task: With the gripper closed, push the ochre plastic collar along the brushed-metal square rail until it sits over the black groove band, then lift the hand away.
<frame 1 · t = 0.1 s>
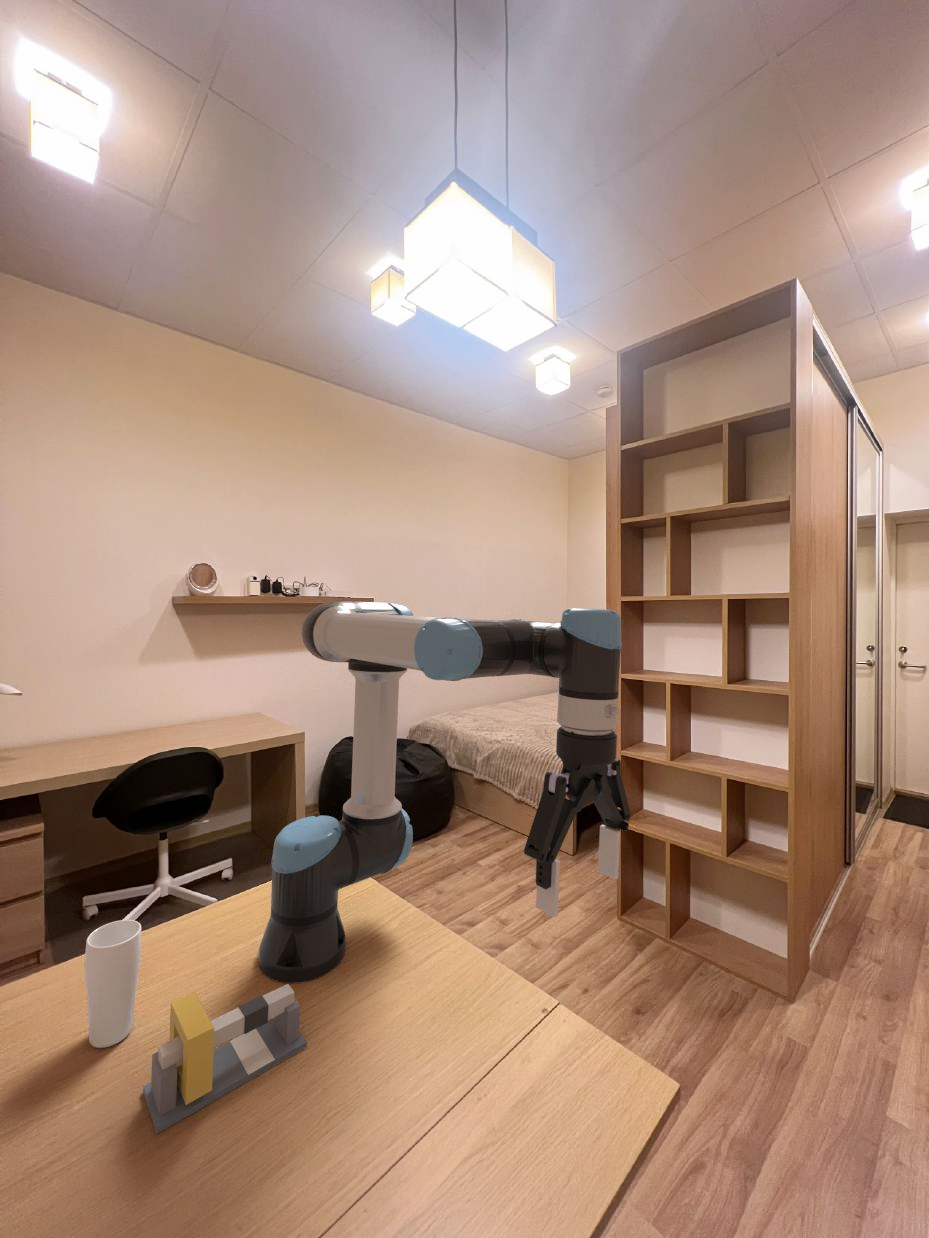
hand: (579, 892, 66), 28 cm above the table, fingers open, 13 cm apart
white cup: (111, 1036, 75), on the table
rail: (229, 1068, 70), on the table
collar: (190, 1044, 67), point 6 cm above the table, slide at 0.0 cm
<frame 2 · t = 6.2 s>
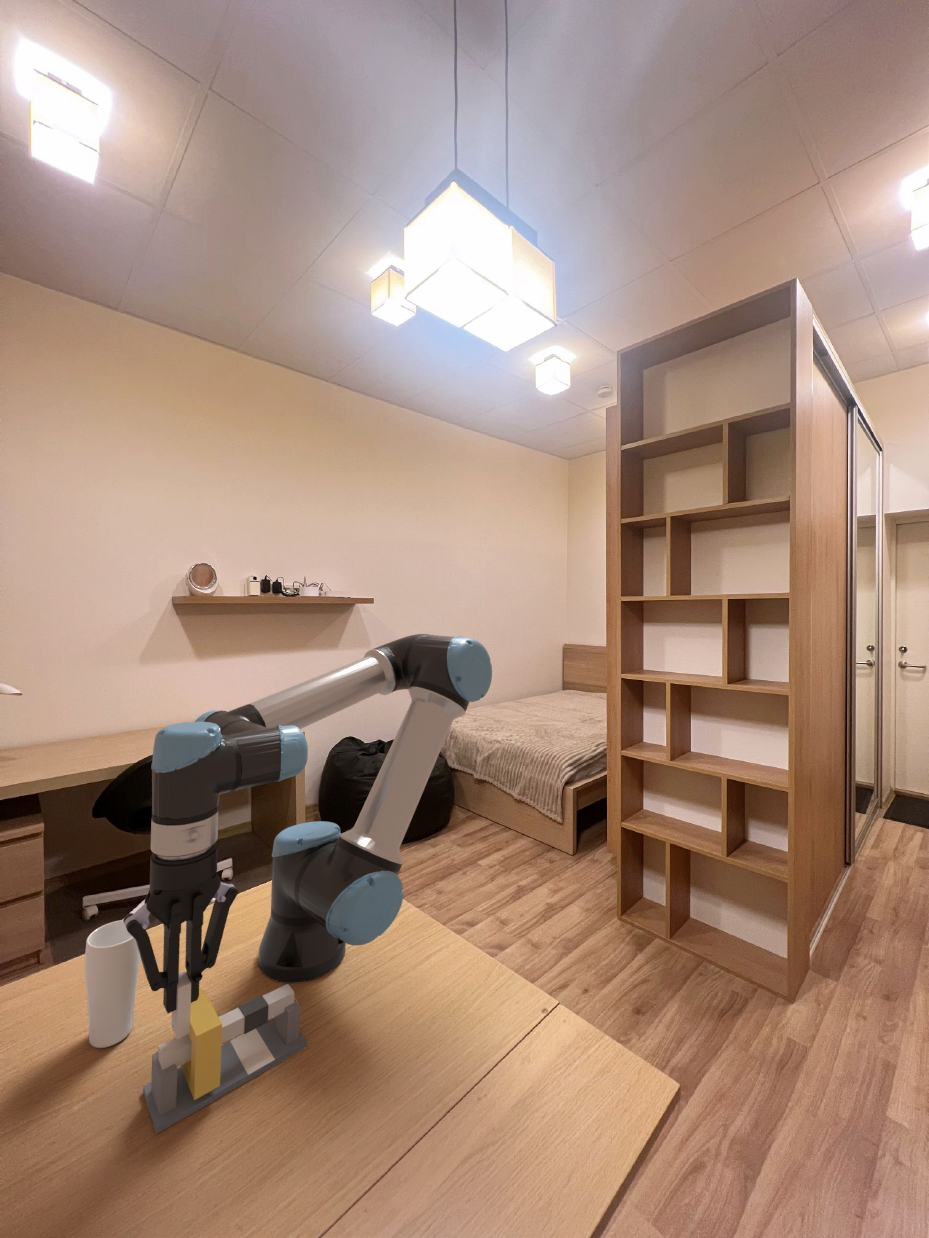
hand: (180, 1029, 66), 9 cm above the table, fingers closed
collar: (198, 1040, 67), point 6 cm above the table, slide at 1.0 cm, touching gripper
everything else where it was.
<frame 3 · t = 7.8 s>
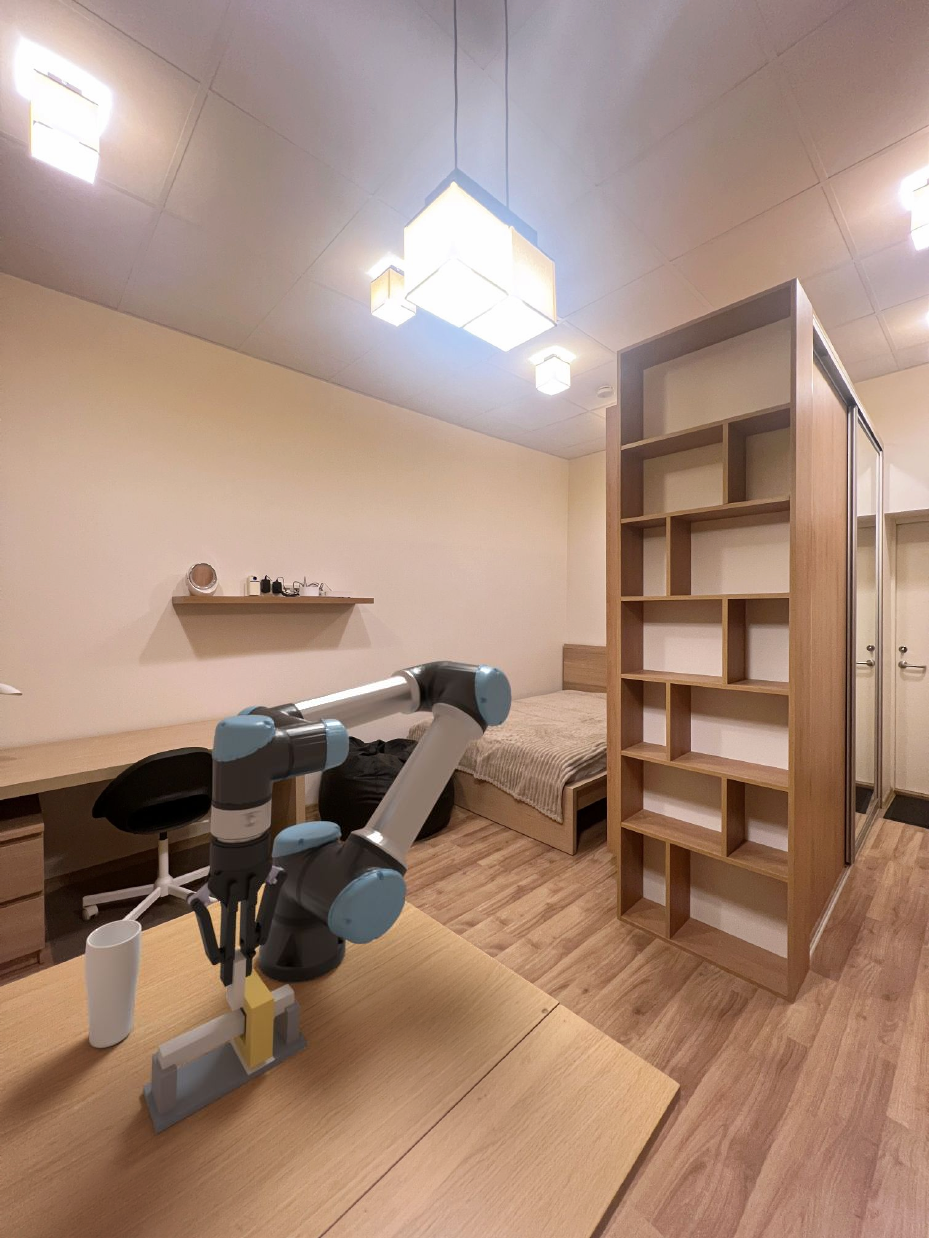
hand: (235, 1002, 70), 9 cm above the table, fingers closed
collar: (251, 1014, 72), point 6 cm above the table, slide at 7.7 cm, touching gripper
everything else where it was.
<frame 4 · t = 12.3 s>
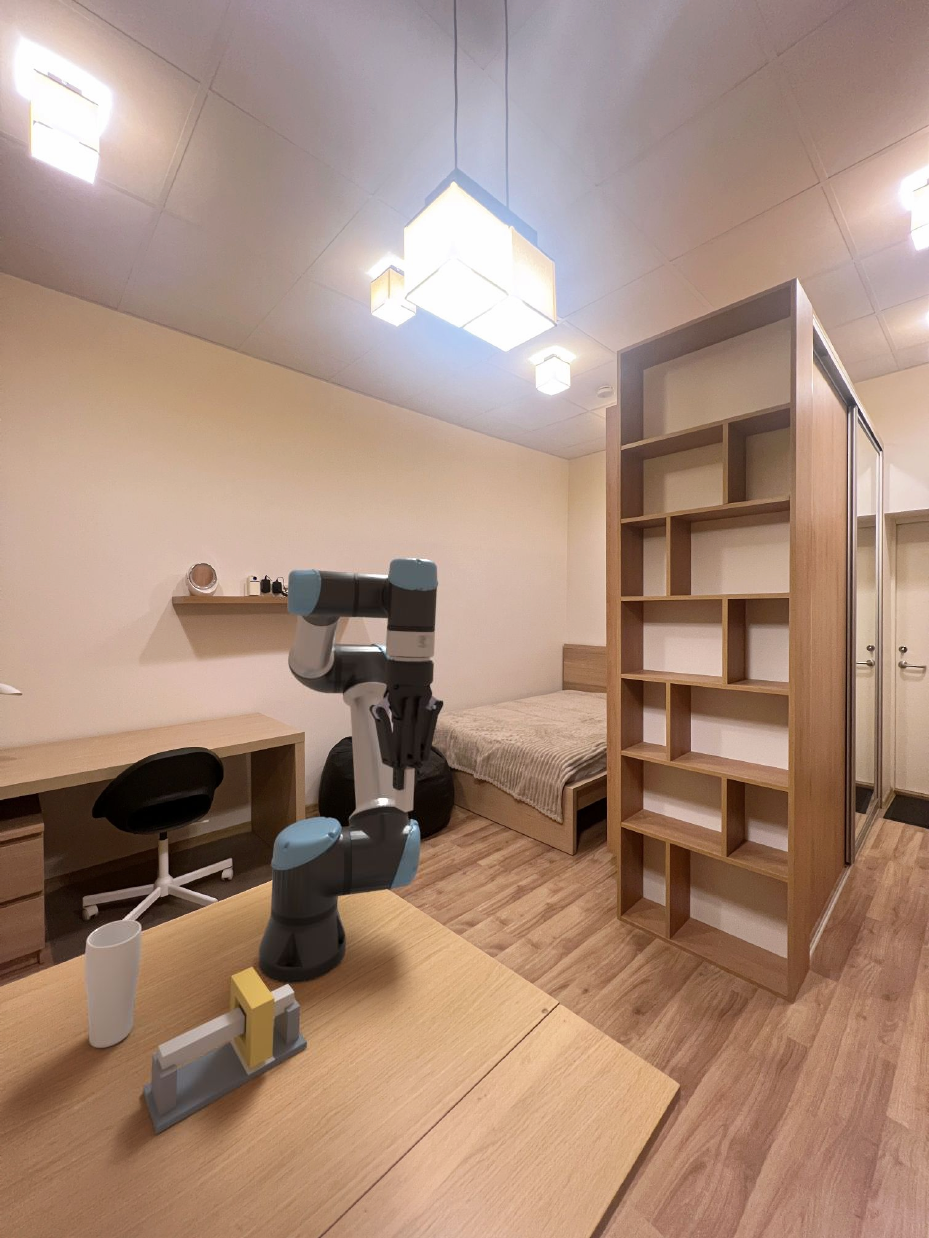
hand: (403, 808, 81), 32 cm above the table, fingers closed
collar: (251, 1014, 72), point 6 cm above the table, slide at 7.7 cm
everything else where it was.
at the end: collar slide at 7.7 cm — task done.
